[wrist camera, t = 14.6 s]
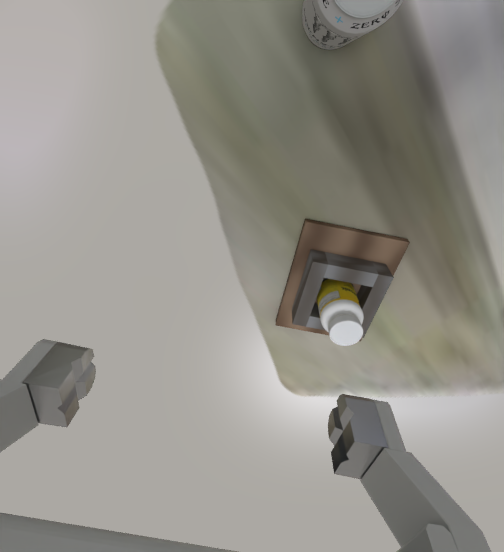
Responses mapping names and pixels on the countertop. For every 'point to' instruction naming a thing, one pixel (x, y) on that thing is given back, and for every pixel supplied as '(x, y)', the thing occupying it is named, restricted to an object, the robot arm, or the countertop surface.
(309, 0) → the energy drink can
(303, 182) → the countertop surface
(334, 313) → the supplement bottle
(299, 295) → the socket block
